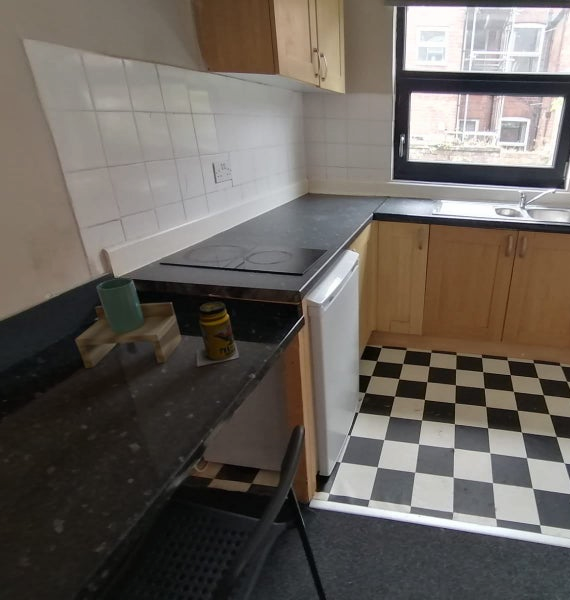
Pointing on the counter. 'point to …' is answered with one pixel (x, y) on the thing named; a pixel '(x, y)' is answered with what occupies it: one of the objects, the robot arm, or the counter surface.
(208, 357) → the condiment
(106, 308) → the cup
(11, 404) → the counter surface
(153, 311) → the shelf
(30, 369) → the counter surface
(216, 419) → the counter surface
